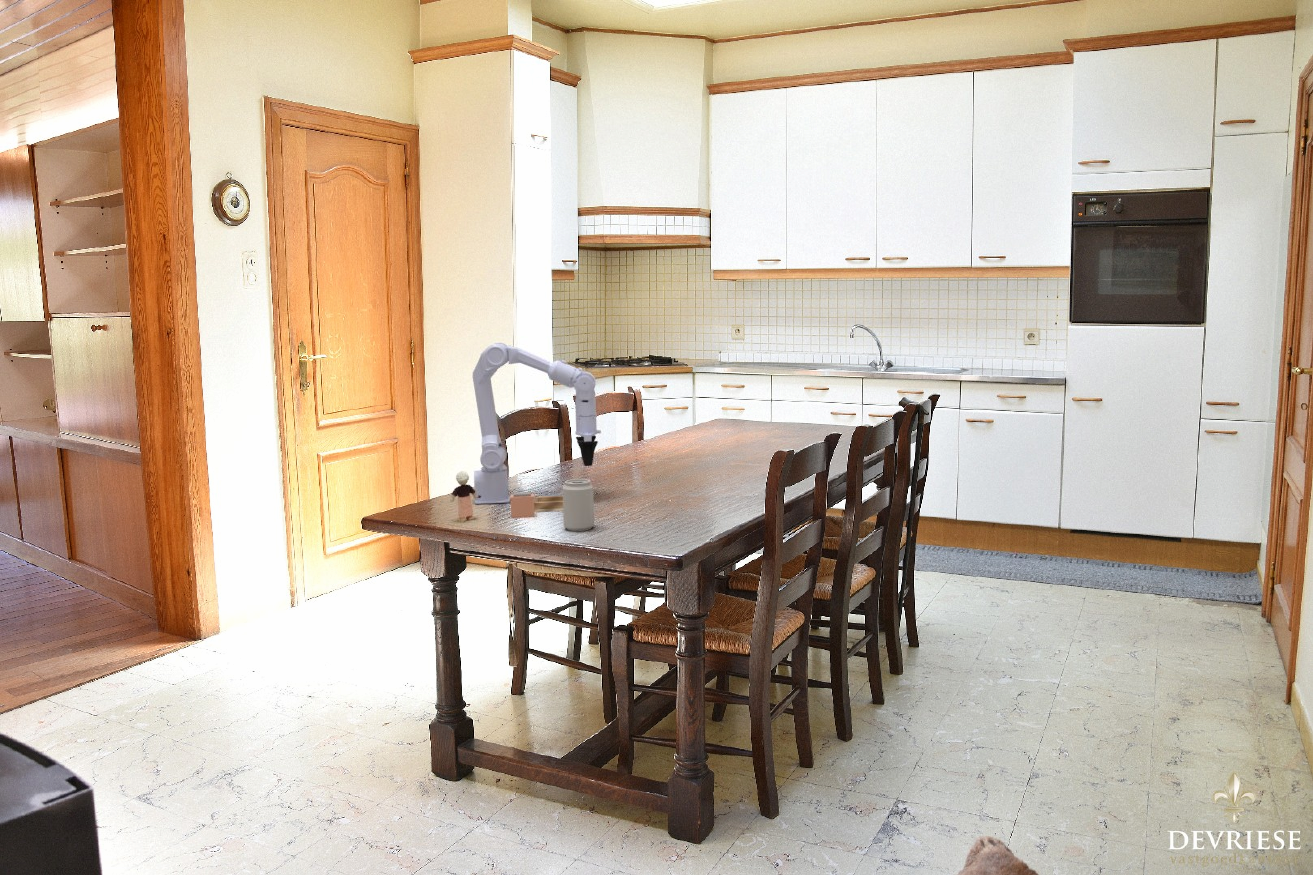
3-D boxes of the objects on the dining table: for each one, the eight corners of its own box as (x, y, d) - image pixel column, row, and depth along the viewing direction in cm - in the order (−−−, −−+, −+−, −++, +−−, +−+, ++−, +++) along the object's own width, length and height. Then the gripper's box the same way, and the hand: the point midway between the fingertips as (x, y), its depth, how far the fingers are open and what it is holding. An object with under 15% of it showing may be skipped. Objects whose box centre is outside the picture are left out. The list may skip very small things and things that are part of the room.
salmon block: (511, 518, 265) (510, 495, 264) (511, 515, 269) (510, 492, 268) (534, 517, 266) (533, 494, 265) (534, 514, 270) (533, 491, 269)
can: (594, 524, 255) (593, 477, 254) (594, 531, 248) (592, 482, 246) (564, 525, 255) (562, 478, 254) (563, 532, 248) (561, 483, 246)
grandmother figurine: (470, 516, 268) (468, 468, 267) (480, 518, 266) (478, 469, 264) (447, 521, 263) (445, 473, 261) (457, 523, 260) (455, 474, 258)
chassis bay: (523, 512, 271) (522, 503, 271) (523, 505, 280) (523, 497, 280) (583, 509, 273) (583, 500, 273) (582, 503, 282) (582, 494, 282)
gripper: (602, 418, 278) (603, 467, 280) (598, 412, 293) (600, 458, 295) (575, 418, 278) (577, 468, 280) (573, 412, 292) (575, 459, 294)
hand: (587, 463), depth 287 cm, fingers open, 7 cm apart
